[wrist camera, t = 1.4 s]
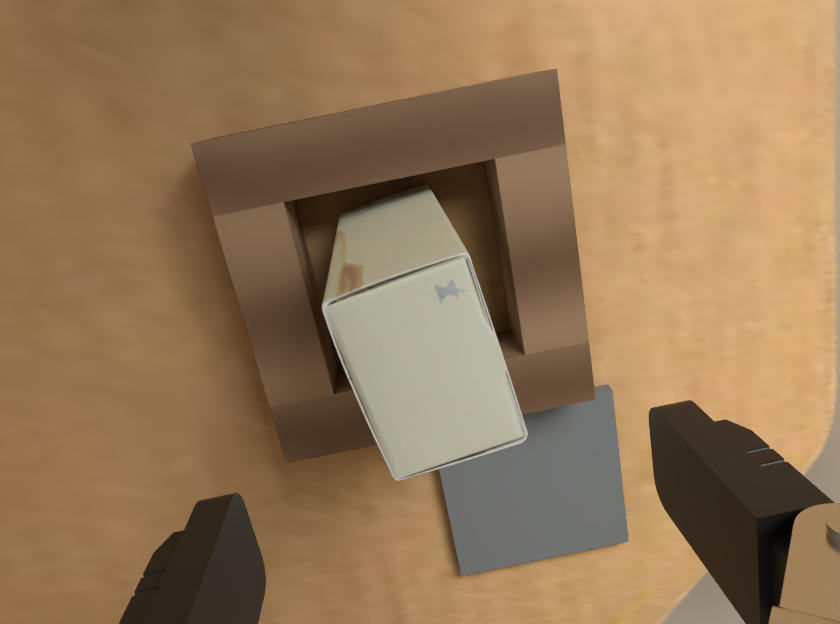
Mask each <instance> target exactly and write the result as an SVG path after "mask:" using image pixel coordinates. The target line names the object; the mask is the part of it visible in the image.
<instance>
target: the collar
mask: <svg viewBox="0 0 840 624" xmlns="http://www.w3.org/2000/svg"><path fill="white" fill-rule="evenodd" d="M191 146H192V149H193V153H194V156H195V159H196V163H197V166H198V169H199V173H200V176H201V179H202V183H203V186H204V189H205V193H206V196H207V199H208V203H209V206H210V209H211V213H212V216H213V220H214V223H215V226H216V230H217V233H218V236H219V240H220V243H221V246H222V250H223V253H224V256H225V260H226V263H227V266H228V270H229V273H230V276H231V280H232V283H233V286H234V290H235V293H236V296H237V300H238V303H239V306H240V310H241V313H242V316H243V320H244V323H245V326H246V330H247V333H248V336H249V340H250V343H251V346H252V350H253V353H254V356H255V360H256V363H257V367H258V370H259V373H260V377H261V380H262V383H263V387H264V390H265V393H266V397H267V400H268V403H269V407H270V410H271V413H272V417H273V420H274V423H275V427H276V430H277V433H278V437H279V440H280V443H281V447H282V450H283V453H284V457H285V460H286V463H289V462H294V461H299V460H304V459H308V458H313V457H318V456H323V455H328V454H333V453H338V452H343V451H347V450H352V449H357V448H362V447H367V446H372V445H377V443H376V441H375V439H374V437H373V435H372V432H371V430H370V428H369V426H368V424H367V422H366V419H365V417H364V415H363V413H362V410H361V408H360V406H359V403H358V401H357V399H356V397H355V394H354V392H353V389H352V387H351V385H350V383H349V380H348V378H347V376H346V373H345V371H344V368H343V366H339V367H337V363H336V359H335V355H334V352H333V348H332V344H331V340H330V336H329V332H328V328H327V324H326V320H325V318H324V315H323V312H322V305H321V301H320V297H319V293H318V289H317V285H316V281H315V277H314V273H313V270H312V266H311V262H310V258H309V254H308V250H307V246H306V242H305V238H304V234H303V230H302V227H301V223H300V219H299V215H298V211H297V207H296V203H295V200H296V199H301V198H306V197H311V196H316V195H321V194H326V193H331V192H336V191H340V190H345V189H350V188H355V187H360V186H365V185H370V184H375V183H379V182H384V181H389V180H394V179H399V178H404V177H409V176H414V175H418V174H423V173H428V172H433V171H438V170H443V169H448V168H453V167H457V166H462V165H467V164H472V163H477V162H482V161H484V162H485V169H486V175H487V181H488V188H489V194H490V200H491V207H492V213H493V219H494V226H495V232H496V238H497V245H498V251H499V257H500V263H501V270H502V276H503V282H504V289H505V295H506V301H507V308H508V314H509V320H510V327H511V331H509V332H505V333H500V334H496V336H497V339H498V342H499V345H500V347H501V350H502V353H503V356H504V360H505V363H506V366H507V369H508V372H509V375H510V378H511V381H512V384H513V387H514V391H515V394H516V397H517V400H518V403H519V406H520V410H521V413H522V414H527V413H532V412H537V411H542V410H547V409H552V408H557V407H561V406H566V405H571V404H576V403H581V402H586V401H591V400H595V390H594V382H593V373H592V365H591V356H590V347H589V339H588V330H587V322H586V313H585V305H584V296H583V288H582V279H581V271H580V262H579V254H578V245H577V237H576V228H575V220H574V211H573V203H572V194H571V186H570V177H569V169H568V160H567V152H566V143H565V135H564V126H563V118H562V109H561V101H560V92H559V84H558V75H557V69H553V70H546V71H540V72H535V73H530V74H525V75H520V76H515V77H510V78H505V79H500V80H495V81H491V82H486V83H481V84H476V85H471V86H466V87H461V88H456V89H452V90H447V91H442V92H437V93H432V94H427V95H422V96H417V97H412V98H408V99H403V100H398V101H393V102H388V103H383V104H378V105H373V106H369V107H364V108H359V109H354V110H349V111H344V112H339V113H334V114H329V115H325V116H320V117H315V118H310V119H305V120H300V121H295V122H290V123H286V124H281V125H276V126H271V127H266V128H261V129H256V130H251V131H247V132H242V133H237V134H232V135H227V136H222V137H217V138H212V139H208V140H204V141H200V142H196V143H192V144H191Z"/></svg>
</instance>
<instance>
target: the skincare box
mask: <svg viewBox="0 0 840 624" xmlns="http://www.w3.org/2000/svg"><path fill="white" fill-rule="evenodd" d="M322 312H323V315H324V318H325V320H326V323H327V326H328V329H329V332H330V335H331V337H332V340H333V343H334V346H335V348H336V351H337V354H338V356H339V359H340V361H341V364H342V366H343V368H344V371H345V373H346V376H347V378H348V380H349V383H350V385H351V387H352V389H353V392H354V394H355V397H356V399H357V401H358V403H359V406H360V408H361V410H362V413H363V415H364V417H365V419H366V422H367V424H368V426H369V428H370V430H371V432H372V435H373V437H374V439H375V441H376V443H377V445H378V447H379V449H380V451H381V454H382V456H383V458H384V460H385V462H386V464H387V466H388V468H389V470H390V472H391V474H392V477H393V479H394V480H395V481H401V480H405V479H408V478H411V477H414V476H417V475H420V474H424V473H428V472H431V471H435V470H438V469H441V468H445V467H448V466H452V465H455V464H458V463H461V462H464V461H467V460H470V459H474V458H477V457H480V456H484V455H487V454H490V453H493V452H496V451H499V450H502V449H505V448H509V447H512V446H515V445H518V444H521V443H523V442H524V441H525V440H526V438H527V435H528V432H527V429H526V426H525V423H524V419H523V416H522V413H521V410H520V406H519V403H518V400H517V397H516V394H515V391H514V387H513V384H512V381H511V378H510V375H509V372H508V369H507V366H506V363H505V360H504V356H503V353H502V350H501V347H500V345H499V342H498V339H497V336H496V333H495V330H494V327H493V324H492V321H491V318H490V315H489V312H488V309H487V306H486V303H485V300H484V297H483V294H482V291H481V288H480V285H479V282H478V279H477V276H476V273H475V270H474V267H473V264H472V261H471V258H470V255H469V253H468V252H467V250H466V248H465V246H464V245H463V243H462V241H461V239H460V238H459V236H458V234H457V233H456V231H455V229H454V228H453V226H452V224H451V222H450V221H449V219H448V218H447V216H446V214H445V213H444V211H443V209H442V207H441V206H440V204H439V202H438V201H437V199H436V197H435V196H434V194H433V192H432V190H431V189H430V187H429V185H426V184H425V185H422V186H419V187H415V188H412V189H409V190H406V191H403V192H400V193H397V194H394V195H391V196H388V197H385V198H382V199H379V200H376V201H373V202H370V203H368V204H365V205H362V206H360V207H357V208H355V209H352V210H350V211H347V212H345V213H343V214H341V215H340V216H339V221H338V226H337V232H336V237H335V242H334V247H333V252H332V258H331V263H330V268H329V274H328V278H327V283H326V288H325V293H324V298H323V302H322Z"/></svg>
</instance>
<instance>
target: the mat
mask: <svg viewBox="0 0 840 624" xmlns="http://www.w3.org/2000/svg"><path fill="white" fill-rule="evenodd" d="M594 390H595V400H591V401H586V402H581V403H576V404H571V405H566V406H561V407H557V408H552V409H547V410H542V411H537V412H532V413H527V414H522V416H523V419H524V423H525V426H526V429H527V432H528V435H527V438H526V440H525V441H524V442H523V443H521V444H518V445H515V446H512V447H509V448H505V449H502V450H499V451H496V452H493V453H490V454H487V455H484V456H480V457H477V458H474V459H470V460H467V461H464V462H461V463H458V464H455V465H452V466H448V467H445V468H441V469H439V473H440V477H441V482H442V487H443V491H444V496H445V501H446V505H447V510H448V515H449V520H450V524H451V529H452V534H453V538H454V543H455V548H456V552H457V557H458V562H459V567H460V571H461V576H464V575H469V574H473V573H478V572H483V571H488V570H493V569H498V568H503V567H507V566H512V565H517V564H522V563H527V562H532V561H537V560H541V559H546V558H551V557H556V556H561V555H566V554H571V553H575V552H580V551H585V550H590V549H595V548H600V547H605V546H609V545H614V544H619V543H624V542H629V541H628V532H627V523H626V513H625V504H624V495H623V485H622V476H621V467H620V458H619V448H618V439H617V430H616V420H615V411H614V402H613V393H612V389H611V388H610V386H609V385H603V386H598V387H594Z"/></svg>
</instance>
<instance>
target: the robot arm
mask: <svg viewBox="0 0 840 624" xmlns="http://www.w3.org/2000/svg"><path fill="white" fill-rule="evenodd" d="M649 428H650V438H651V449H652V460H653V471H654V480H655V485H656V489H657V492H658V495H659V498H660V501H661V503H662V505H663V507H664V509H665V510H666V512H667V513H668V515H669V516H670V518H671V519H672V521H673V522H674V523H675V525H676V526H677V528H678V529H679V530H680V532H681V533H682V535H683V536H684V537H685V539H686V540H687V542H688V543H689V544H690V546H691V547H692V549H693V550H694V551H695V553H696V554H697V556H698V557H699V559H700V560H701V561H702V563H703V564H704V566H705V567H706V568H707V570H708V571H709V573H710V574H711V575H712V577H713V578H714V580H715V581H716V582H717V584H718V585H719V587H720V588H721V589H722V591H723V592H724V594H725V595H726V597H727V598H728V599H729V601H730V602H731V603H732V605H733V606H734V608H735V609H736V611H737V612H738V613H739V615H740V616H741V618H742V619H743V620H744V622H745V623H746V624H840V503H834V502H833V501H832V500H831V499H830V498H828V497H827V496H826V495H825V494H824V493H822V492H821V491H820V490H819V489H818V488H817V487H816V486H815V485H813V484H812V483H811V482H810V481H809V480H808V479H807V478H805V477H804V476H803V475H802V474H801V473H800V472H799V471H797V470H796V469H795V468H794V467H793V466H792V465H791V464H789V463H788V462H785V461H784V458H783V457H781V456H780V455H779V454H778V453H777V452H776V451H775V450H773V449H770V448H769V445H768V444H766V443H765V442H764V441H763V440H762V439H761V438H760V437H758V436H757V435H756V434H755V433H754V432H753V431H752V430H749V429H747V428H745V427H742V426H740V425H737V424H735V423H733V422H730V421H728V420H726V419H725V420H721V421H716V422H714V421H713V420H712V419H711V418H710V417H709V416H708V415H707V414H706V413H705V412H704V411H703V410H702V409H700V408H699V407H698V406H697V405H696V404H695V403H694V402H693V401H691V400H688V401H683V402H678V403H673V404H668V405H664V406H659V407H654V408H651V409H650V412H649ZM143 575H144V578H141V580H140V582H139V584H138V586H137V588H136V590H135V596H132V598H131V600H130V602H129V604H128V606H127V608H126V610H125V612H124V614H123V616H122V618H121V620H120V623H119V624H258V621H259V617H260V612H261V608H262V603H263V599H264V594H265V587H266V577H265V568H264V562H263V558H262V555H261V552H260V549H259V546H258V543H257V540H256V537H255V534H254V531H253V528H252V525H251V522H250V518H249V515H248V512H247V509H246V506H245V503H244V501H243V499H242V497H241V496H240V494H238V493H233V494H229V495H224V496H219V497H214V498H209V499H205V500H200V501H198V502H197V503H196V505H195V507H194V509H193V511H192V514H191V516H190V518H189V520H188V523H187V525H186V527H185V529H184V531H179V532H174V533H173V534H172V535H171V536H170V537H169V538H168V539H167V540H166V541H165V542H164V543H163V544H162V545H161V546H160V547H159V548H158V549H157V550H156V551H155V552H154V553H153V555H152V557H151V559H150V561H149V563H148V565H147V568H146V570H145V572H144V574H143Z"/></svg>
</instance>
